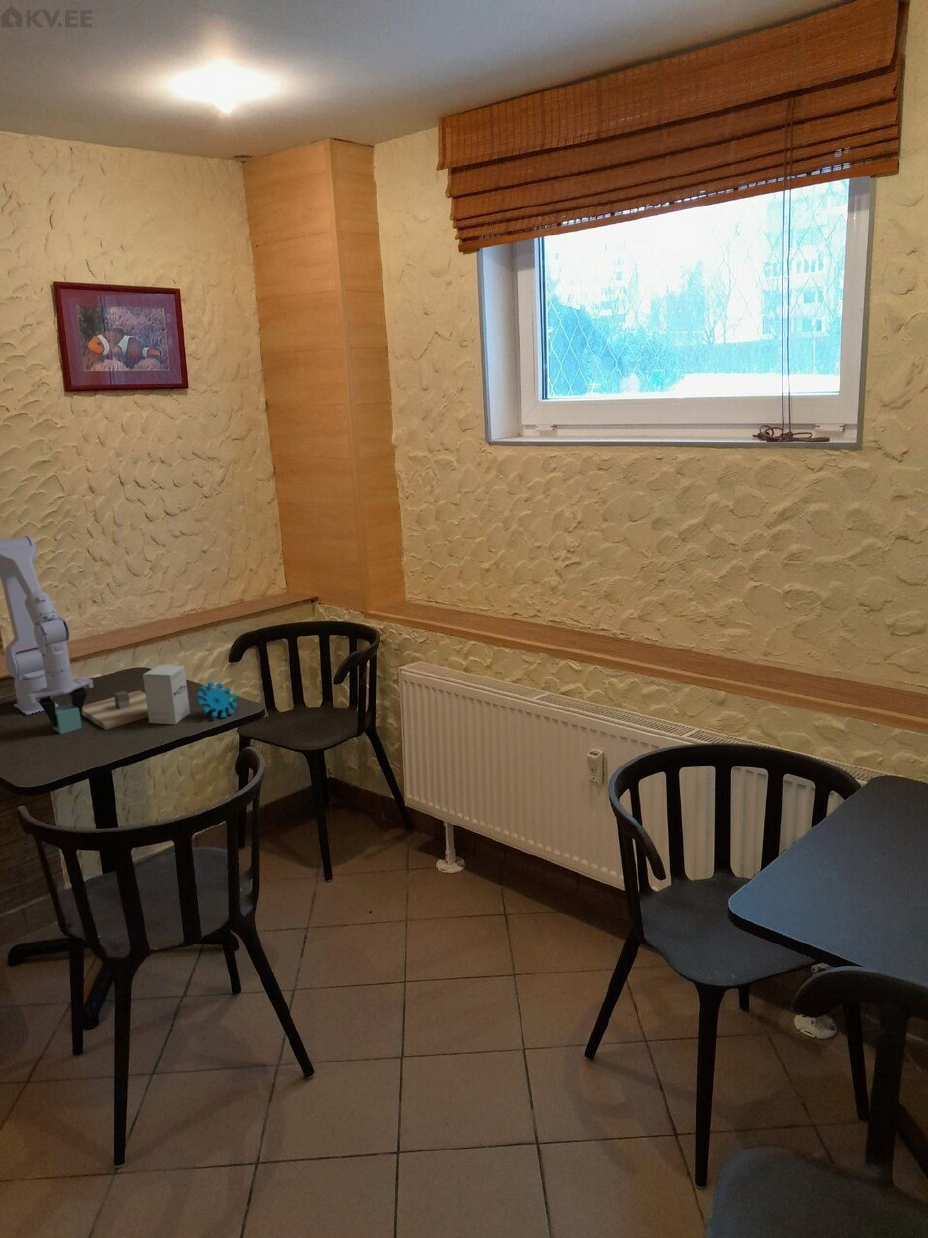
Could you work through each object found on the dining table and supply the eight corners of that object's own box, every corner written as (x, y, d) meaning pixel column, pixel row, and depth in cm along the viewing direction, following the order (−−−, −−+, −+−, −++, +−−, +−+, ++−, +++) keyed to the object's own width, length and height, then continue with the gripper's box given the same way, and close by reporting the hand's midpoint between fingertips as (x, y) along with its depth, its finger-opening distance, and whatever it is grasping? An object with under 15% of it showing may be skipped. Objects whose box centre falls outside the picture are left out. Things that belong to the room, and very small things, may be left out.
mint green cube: (53, 728, 225) (49, 709, 224) (73, 722, 229) (70, 703, 227) (60, 734, 222) (57, 714, 220) (81, 727, 225) (78, 708, 224)
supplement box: (176, 725, 225) (169, 675, 221) (148, 723, 226) (141, 674, 223) (191, 713, 232) (185, 665, 228) (164, 712, 233) (157, 664, 230)
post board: (79, 712, 235) (76, 694, 233) (140, 695, 245) (137, 677, 244) (105, 729, 223) (102, 710, 222) (168, 710, 234) (165, 692, 232)
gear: (206, 718, 223) (192, 683, 227) (198, 731, 227) (184, 695, 231) (247, 711, 231) (233, 677, 235) (238, 723, 235) (225, 689, 238)
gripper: (31, 681, 213) (41, 736, 217) (94, 665, 223) (102, 718, 227) (21, 674, 218) (30, 728, 222) (83, 658, 228) (91, 711, 232)
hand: (66, 722), depth 225 cm, fingers closed on mint green cube, 5 cm apart
